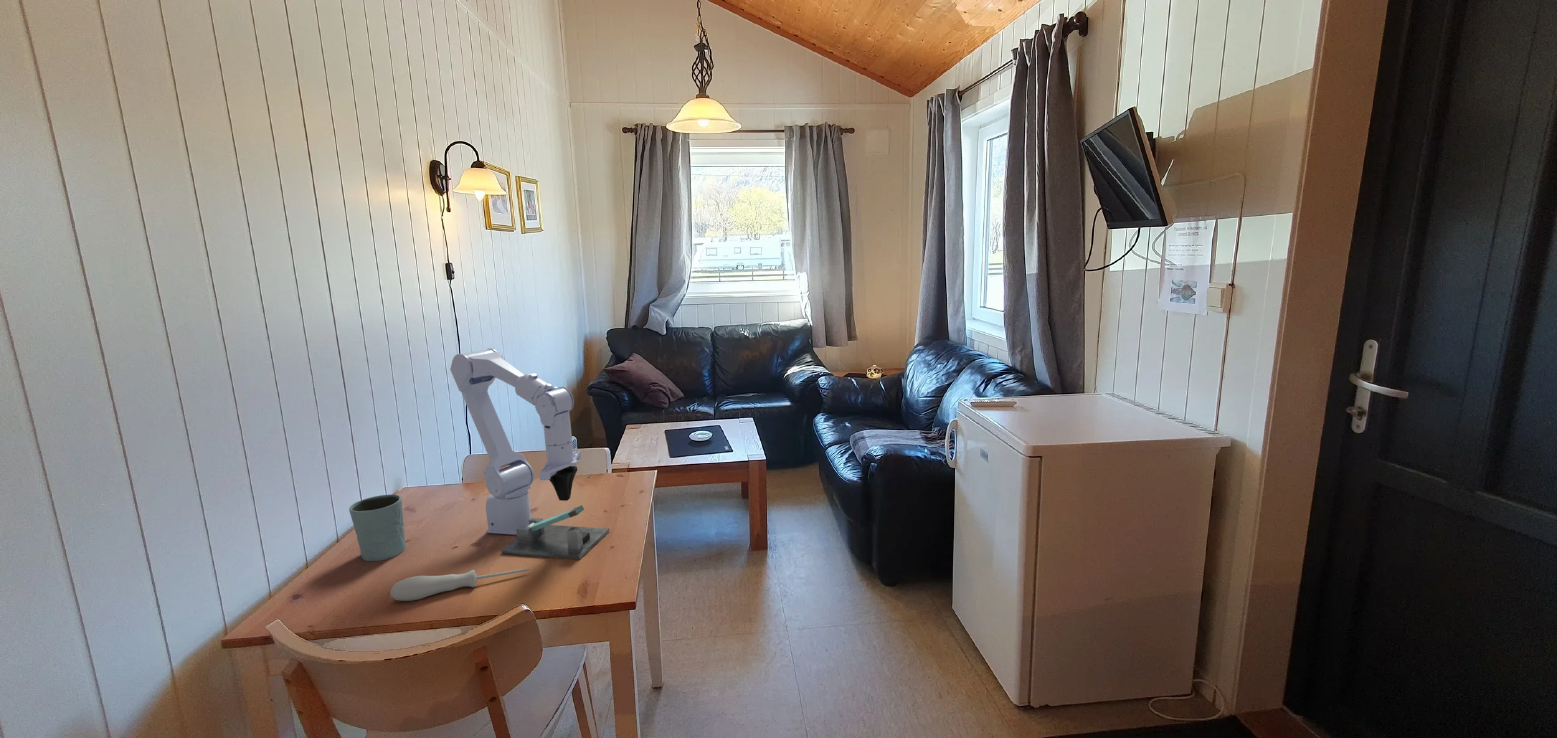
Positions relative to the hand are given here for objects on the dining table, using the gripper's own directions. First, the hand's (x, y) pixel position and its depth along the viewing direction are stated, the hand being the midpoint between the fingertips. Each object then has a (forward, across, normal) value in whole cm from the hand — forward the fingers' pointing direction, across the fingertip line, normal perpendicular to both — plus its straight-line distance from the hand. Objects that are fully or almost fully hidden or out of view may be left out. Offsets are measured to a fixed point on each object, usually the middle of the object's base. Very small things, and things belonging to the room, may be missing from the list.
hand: (564, 499), depth 146 cm
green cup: (+10, -11, +40) cm, 42 cm away
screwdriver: (+10, -22, +11) cm, 27 cm away
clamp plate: (+10, -1, +2) cm, 10 cm away
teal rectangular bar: (+5, -1, +2) cm, 6 cm away
